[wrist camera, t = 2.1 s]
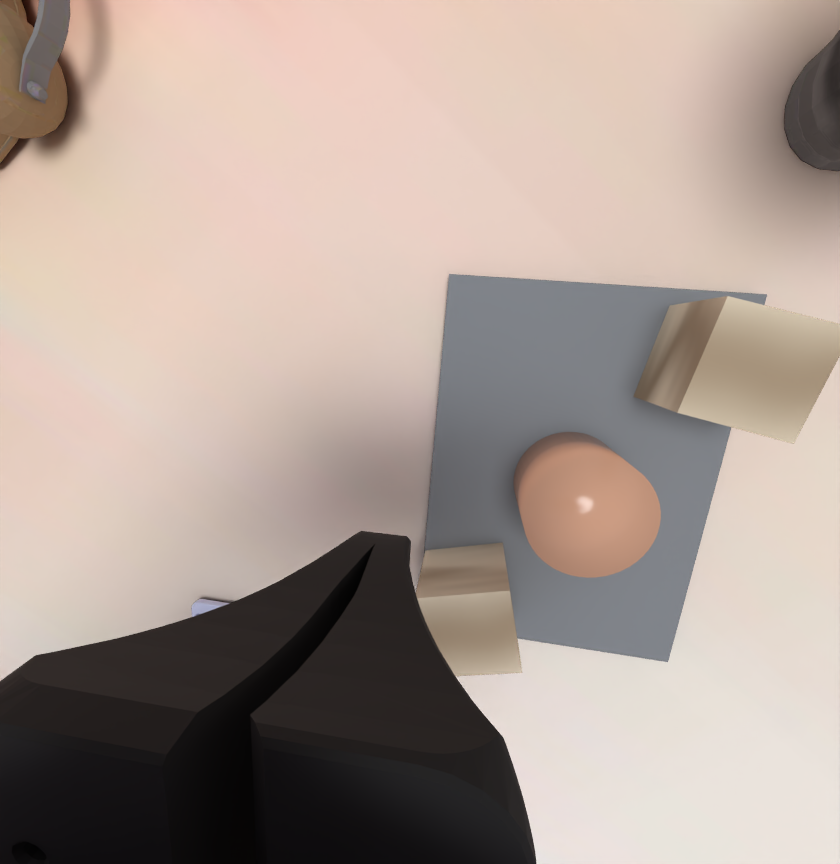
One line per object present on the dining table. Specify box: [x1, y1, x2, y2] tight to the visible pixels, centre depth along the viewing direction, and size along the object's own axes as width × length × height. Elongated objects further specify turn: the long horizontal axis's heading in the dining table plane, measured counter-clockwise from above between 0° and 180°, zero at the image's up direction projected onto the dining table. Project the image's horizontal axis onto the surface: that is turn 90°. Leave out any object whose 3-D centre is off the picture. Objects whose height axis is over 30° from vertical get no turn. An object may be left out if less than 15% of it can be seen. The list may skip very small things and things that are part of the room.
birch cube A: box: [416, 543, 522, 676], centre depth 19 cm, size 4×4×4 cm
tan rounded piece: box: [513, 432, 661, 578], centre depth 17 cm, size 5×5×4 cm
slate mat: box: [424, 274, 767, 662], centre depth 19 cm, size 18×13×1 cm
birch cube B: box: [633, 296, 840, 444], centre depth 15 cm, size 4×4×4 cm
